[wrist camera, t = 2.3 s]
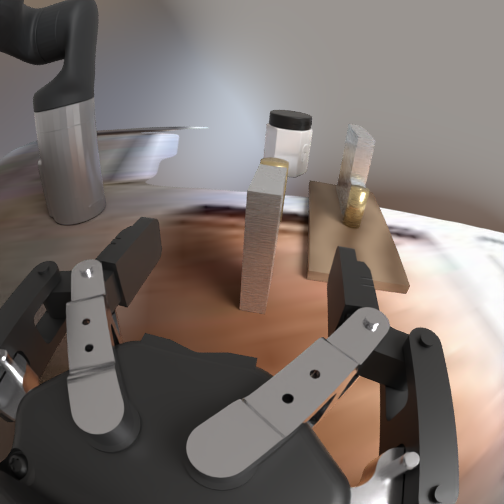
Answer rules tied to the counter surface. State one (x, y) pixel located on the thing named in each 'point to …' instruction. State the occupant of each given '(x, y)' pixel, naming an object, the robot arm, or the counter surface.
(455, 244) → the counter surface
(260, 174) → the brushed metal block
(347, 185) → the fixed leaf
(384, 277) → the jig board
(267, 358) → the counter surface
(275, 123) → the jar
